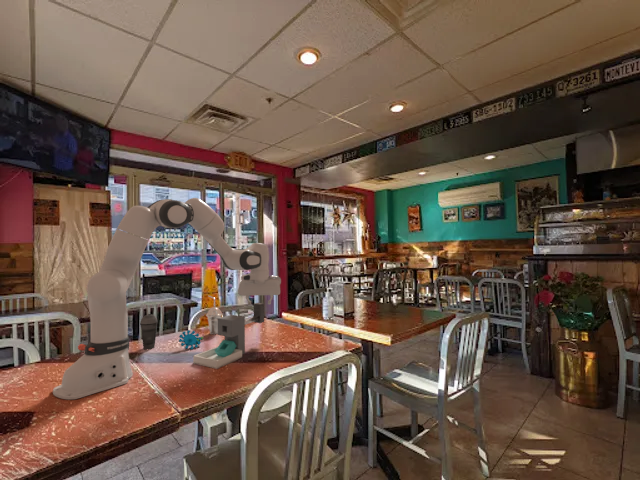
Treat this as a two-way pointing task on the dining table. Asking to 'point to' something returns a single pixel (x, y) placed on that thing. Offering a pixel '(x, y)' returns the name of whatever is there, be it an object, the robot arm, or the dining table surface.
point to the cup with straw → (213, 318)
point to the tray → (216, 358)
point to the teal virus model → (190, 339)
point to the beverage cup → (148, 330)
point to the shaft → (257, 314)
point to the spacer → (225, 348)
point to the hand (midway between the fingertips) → (259, 304)
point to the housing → (233, 330)
